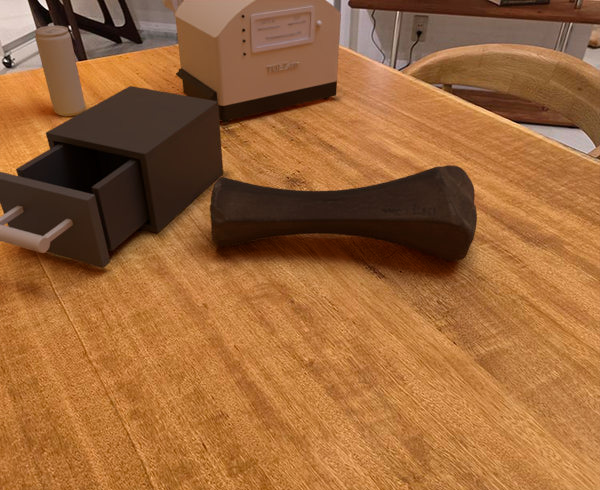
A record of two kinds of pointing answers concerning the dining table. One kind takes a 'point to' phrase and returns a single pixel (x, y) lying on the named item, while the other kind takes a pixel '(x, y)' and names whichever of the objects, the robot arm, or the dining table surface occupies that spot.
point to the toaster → (257, 52)
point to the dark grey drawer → (73, 203)
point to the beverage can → (60, 70)
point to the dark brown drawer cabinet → (154, 144)
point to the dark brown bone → (355, 212)
